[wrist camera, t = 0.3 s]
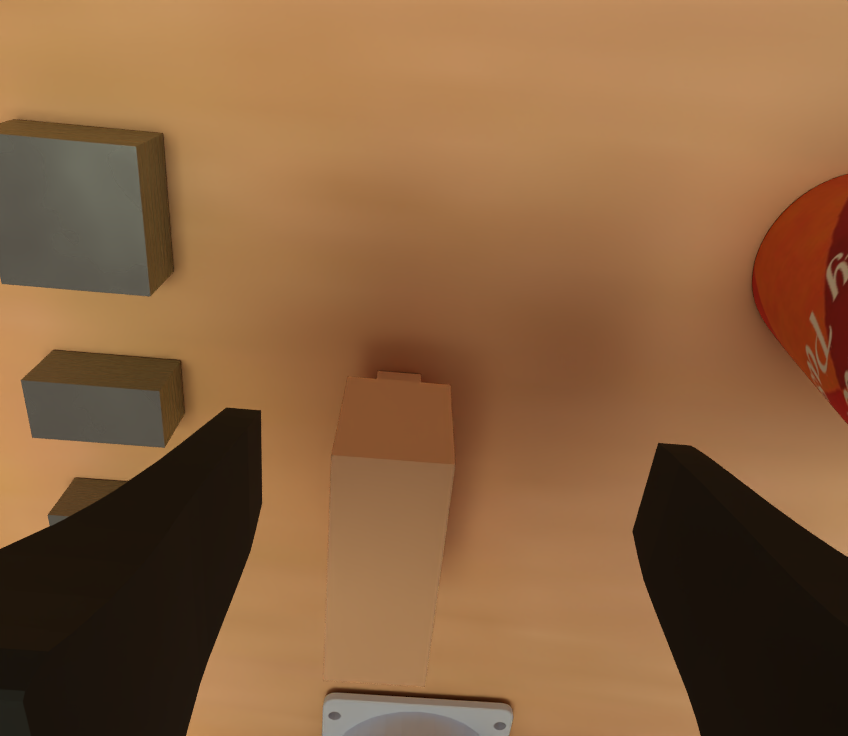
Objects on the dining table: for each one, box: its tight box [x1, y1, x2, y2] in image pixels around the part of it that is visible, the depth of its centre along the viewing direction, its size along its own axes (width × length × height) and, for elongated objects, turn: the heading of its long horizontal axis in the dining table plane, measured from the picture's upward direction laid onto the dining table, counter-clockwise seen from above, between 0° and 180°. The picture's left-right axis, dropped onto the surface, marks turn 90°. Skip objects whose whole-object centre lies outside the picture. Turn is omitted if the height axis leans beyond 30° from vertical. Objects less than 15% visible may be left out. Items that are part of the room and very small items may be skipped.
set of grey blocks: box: [0, 119, 185, 526], centre depth 22 cm, size 16×4×2 cm, turn 175°
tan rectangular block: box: [323, 371, 455, 687], centre depth 21 cm, size 8×3×6 cm, turn 175°
